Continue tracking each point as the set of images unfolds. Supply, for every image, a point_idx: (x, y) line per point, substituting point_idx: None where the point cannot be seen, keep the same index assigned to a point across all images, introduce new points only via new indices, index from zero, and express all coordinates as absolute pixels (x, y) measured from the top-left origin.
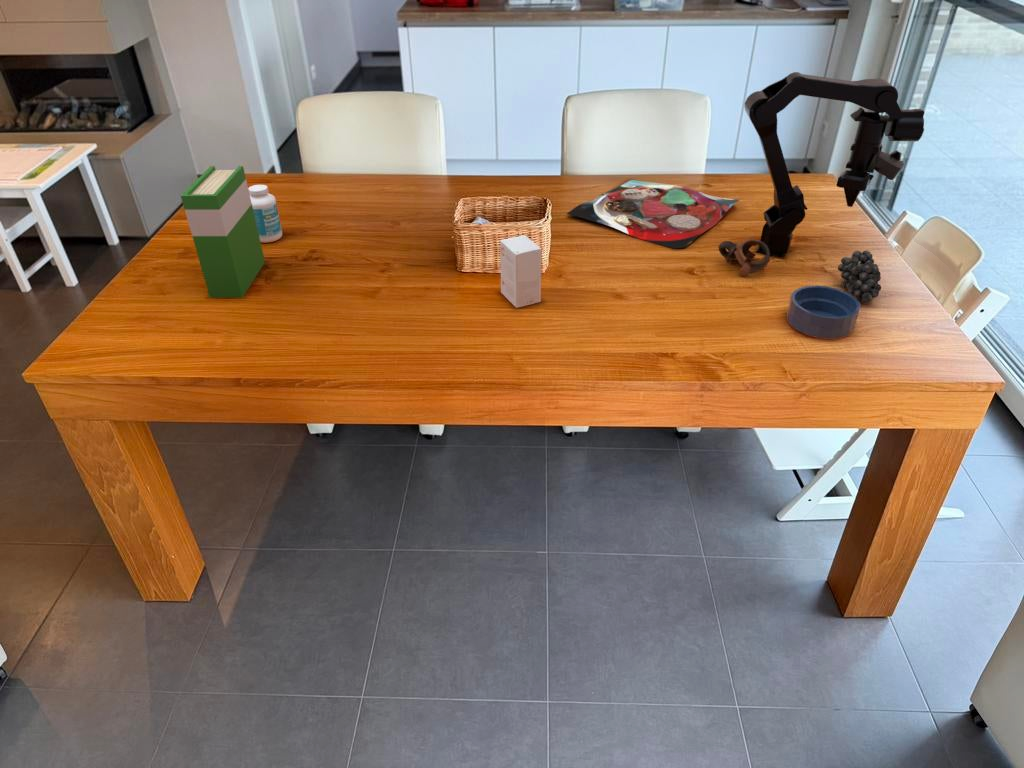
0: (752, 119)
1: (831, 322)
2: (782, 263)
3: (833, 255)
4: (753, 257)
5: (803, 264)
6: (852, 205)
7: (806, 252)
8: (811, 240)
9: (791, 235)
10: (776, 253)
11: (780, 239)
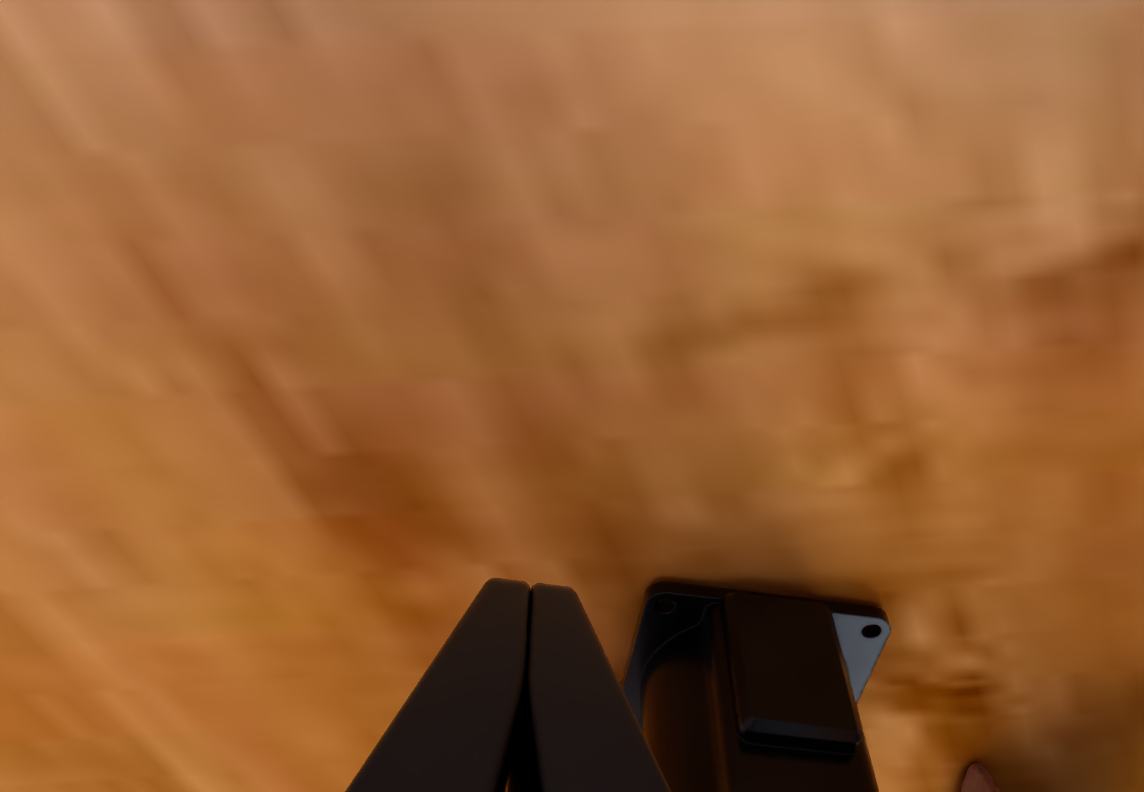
0: None
1: None
2: (991, 593)
3: (667, 194)
4: (995, 784)
5: (982, 449)
6: (581, 612)
7: (683, 443)
8: (359, 420)
9: (792, 732)
10: (848, 661)
11: (874, 777)
